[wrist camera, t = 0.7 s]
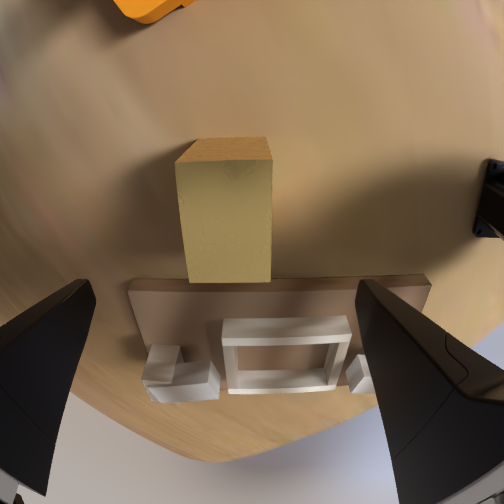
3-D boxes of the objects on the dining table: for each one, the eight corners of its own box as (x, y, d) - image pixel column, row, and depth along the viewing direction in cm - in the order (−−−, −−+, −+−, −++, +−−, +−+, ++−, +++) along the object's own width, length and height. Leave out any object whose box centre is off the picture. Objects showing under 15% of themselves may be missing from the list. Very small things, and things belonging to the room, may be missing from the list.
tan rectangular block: (198, 138, 17) (174, 162, 12) (266, 136, 17) (272, 159, 12) (205, 228, 20) (189, 282, 15) (265, 228, 20) (270, 282, 15)
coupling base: (424, 274, 22) (455, 319, 17) (387, 368, 28) (402, 411, 23) (133, 278, 22) (108, 329, 17) (163, 375, 28) (153, 421, 23)
